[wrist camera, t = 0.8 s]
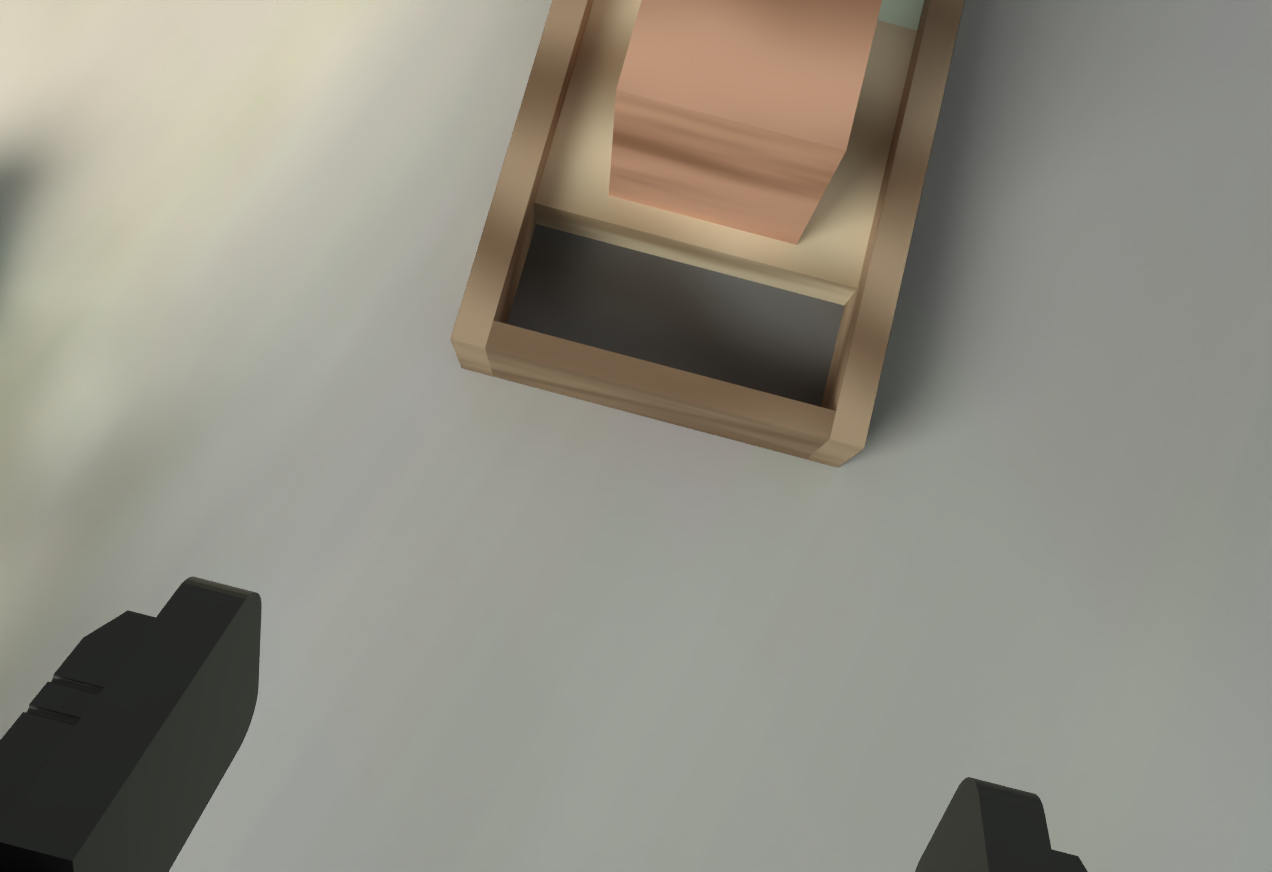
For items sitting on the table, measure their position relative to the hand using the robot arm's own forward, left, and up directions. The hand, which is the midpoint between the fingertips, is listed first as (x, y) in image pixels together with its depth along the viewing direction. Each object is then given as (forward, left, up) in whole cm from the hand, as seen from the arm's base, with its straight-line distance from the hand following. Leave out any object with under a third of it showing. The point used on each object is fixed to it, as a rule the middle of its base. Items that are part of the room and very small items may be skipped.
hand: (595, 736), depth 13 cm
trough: (-17, +20, -29) cm, 39 cm away
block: (-14, +17, -27) cm, 35 cm away
